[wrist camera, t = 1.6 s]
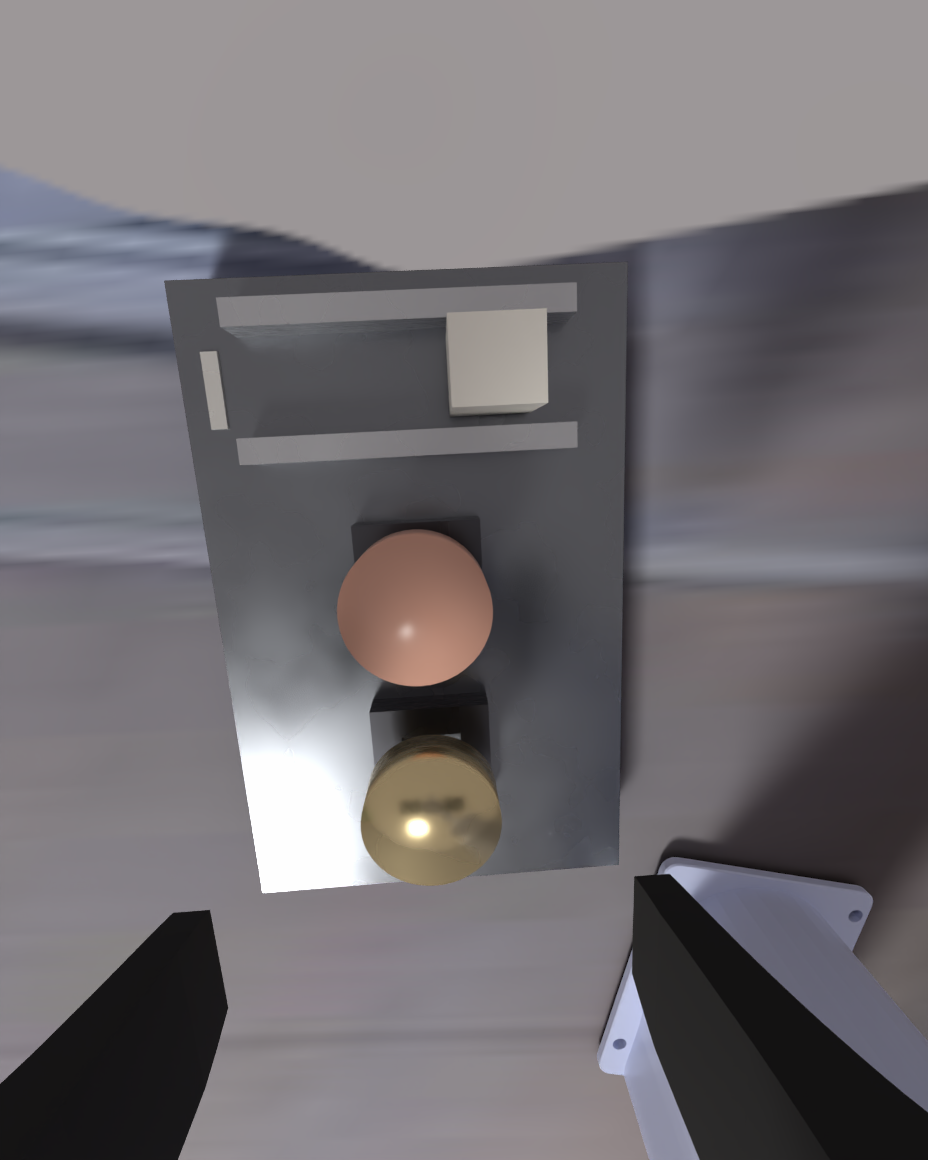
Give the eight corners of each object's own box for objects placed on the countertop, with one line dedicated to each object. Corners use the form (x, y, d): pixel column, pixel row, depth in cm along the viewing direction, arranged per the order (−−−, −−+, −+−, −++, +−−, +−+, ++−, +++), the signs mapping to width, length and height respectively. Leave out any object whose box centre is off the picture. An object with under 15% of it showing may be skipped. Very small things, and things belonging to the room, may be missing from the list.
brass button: (495, 820, 14) (504, 880, 12) (377, 829, 14) (367, 890, 12) (490, 713, 14) (499, 756, 12) (366, 721, 14) (354, 767, 11)
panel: (599, 821, 18) (629, 890, 15) (281, 846, 18) (251, 920, 15) (602, 288, 15) (643, 244, 12) (202, 305, 14) (140, 264, 11)
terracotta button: (487, 647, 13) (495, 681, 11) (359, 655, 13) (345, 691, 11) (481, 521, 13) (489, 532, 10) (347, 528, 12) (328, 541, 10)
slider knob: (530, 412, 13) (547, 402, 11) (449, 416, 13) (452, 407, 11) (528, 334, 13) (546, 308, 10) (445, 338, 13) (446, 312, 10)
